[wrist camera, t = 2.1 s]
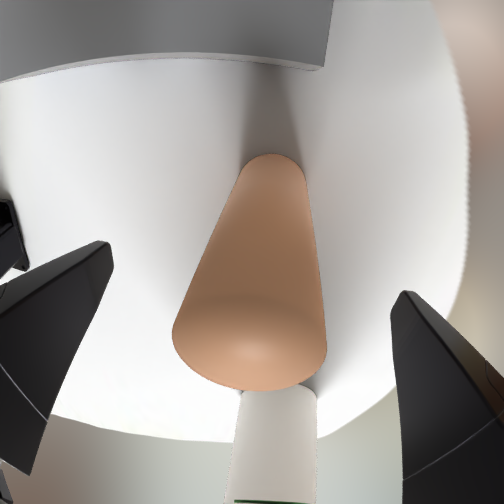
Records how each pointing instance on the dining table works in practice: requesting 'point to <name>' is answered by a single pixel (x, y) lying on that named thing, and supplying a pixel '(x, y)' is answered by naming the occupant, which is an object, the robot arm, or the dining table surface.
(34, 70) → the socket block
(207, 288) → the peg
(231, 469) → the cylindrical container
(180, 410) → the dining table surface
